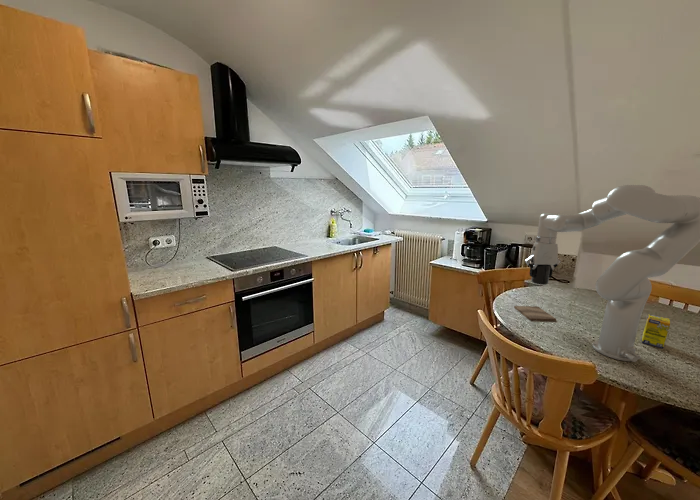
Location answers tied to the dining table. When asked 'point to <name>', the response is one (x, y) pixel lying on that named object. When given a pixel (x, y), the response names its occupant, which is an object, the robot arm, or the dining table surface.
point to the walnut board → (534, 313)
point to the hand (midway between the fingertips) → (540, 276)
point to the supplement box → (655, 331)
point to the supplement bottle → (541, 274)
